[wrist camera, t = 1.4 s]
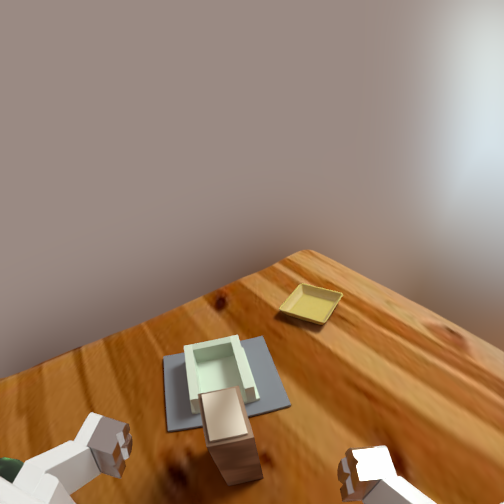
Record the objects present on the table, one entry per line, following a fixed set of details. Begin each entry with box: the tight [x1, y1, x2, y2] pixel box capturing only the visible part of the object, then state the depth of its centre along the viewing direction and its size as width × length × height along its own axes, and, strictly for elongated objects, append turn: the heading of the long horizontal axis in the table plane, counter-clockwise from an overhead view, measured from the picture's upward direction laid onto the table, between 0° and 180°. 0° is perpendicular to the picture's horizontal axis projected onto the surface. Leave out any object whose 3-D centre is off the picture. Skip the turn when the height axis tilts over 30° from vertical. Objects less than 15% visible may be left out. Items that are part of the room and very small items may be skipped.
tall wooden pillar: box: [198, 386, 263, 486], centre depth 27 cm, size 4×6×11 cm, turn 13°
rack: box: [184, 335, 260, 414], centre depth 40 cm, size 9×10×3 cm
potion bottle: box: [0, 457, 24, 484], centre depth 15 cm, size 8×8×18 cm
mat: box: [164, 336, 291, 432], centre depth 41 cm, size 16×14×1 cm
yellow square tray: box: [279, 283, 343, 325], centre depth 53 cm, size 9×9×2 cm
